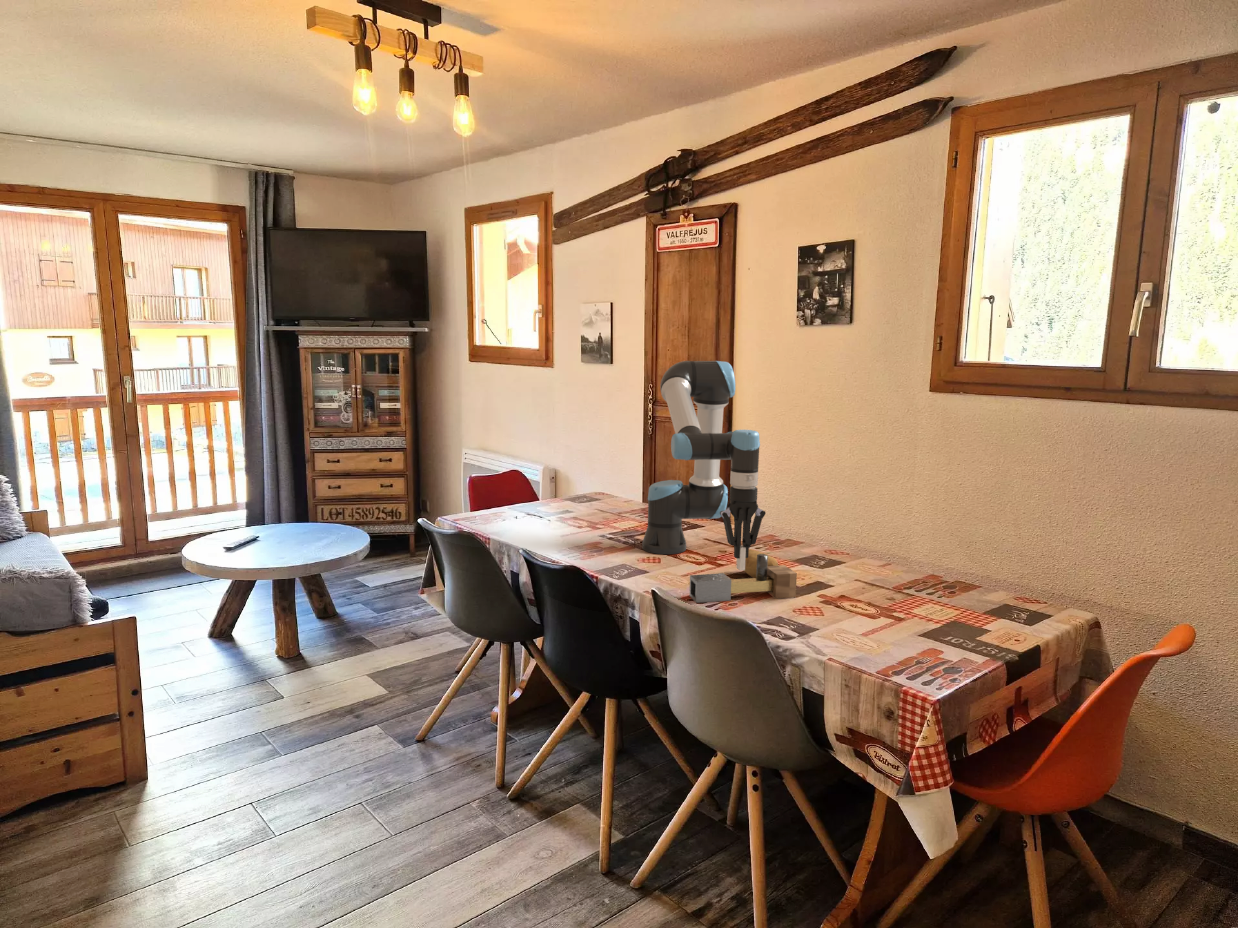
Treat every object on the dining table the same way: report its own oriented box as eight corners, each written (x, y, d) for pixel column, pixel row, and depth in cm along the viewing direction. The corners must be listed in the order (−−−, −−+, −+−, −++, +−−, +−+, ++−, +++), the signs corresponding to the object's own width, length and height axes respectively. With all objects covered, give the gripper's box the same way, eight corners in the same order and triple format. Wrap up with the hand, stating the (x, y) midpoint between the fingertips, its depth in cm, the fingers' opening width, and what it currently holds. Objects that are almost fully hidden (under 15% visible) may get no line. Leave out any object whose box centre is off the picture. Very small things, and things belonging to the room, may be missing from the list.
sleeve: (689, 595, 217) (689, 575, 216) (722, 593, 220) (723, 573, 219) (696, 602, 212) (696, 581, 211) (730, 600, 214) (731, 579, 213)
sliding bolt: (715, 590, 217) (716, 556, 216) (778, 586, 222) (780, 552, 220) (719, 594, 214) (720, 559, 213) (782, 589, 219) (784, 555, 217)
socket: (764, 589, 224) (765, 566, 222) (783, 588, 225) (784, 565, 224) (775, 598, 216) (776, 574, 215) (795, 597, 217) (796, 573, 216)
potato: (762, 586, 226) (763, 560, 225) (731, 574, 238) (732, 549, 237) (786, 581, 231) (788, 555, 230) (754, 569, 243) (755, 544, 242)
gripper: (726, 489, 208) (723, 574, 211) (771, 488, 211) (767, 571, 214) (716, 484, 215) (713, 566, 219) (760, 483, 218) (756, 563, 222)
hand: (740, 568), depth 216 cm, fingers closed
